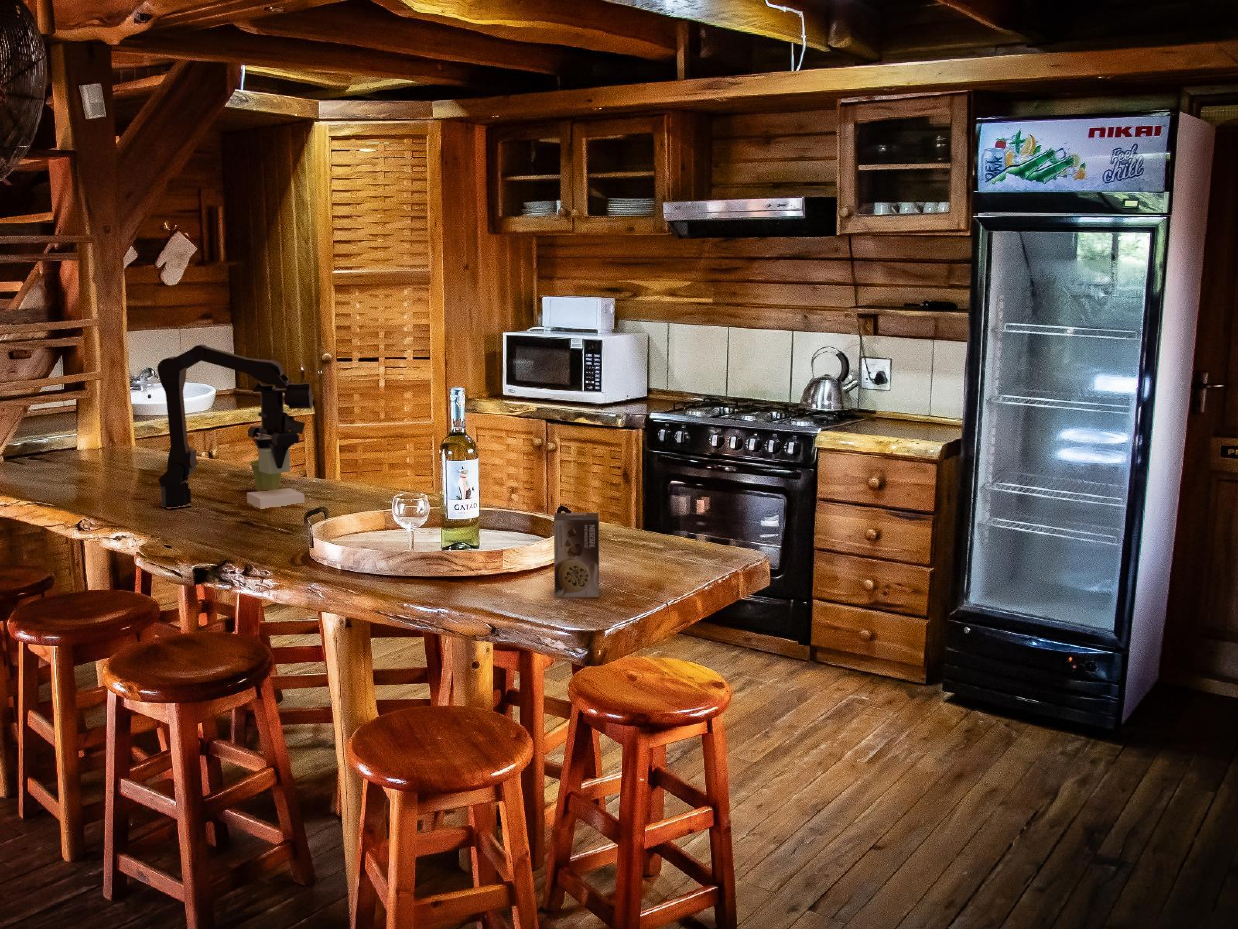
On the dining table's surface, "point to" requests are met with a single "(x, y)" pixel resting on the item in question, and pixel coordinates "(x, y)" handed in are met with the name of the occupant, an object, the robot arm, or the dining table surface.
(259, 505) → the plinth
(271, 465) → the sage cube
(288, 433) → the robot arm
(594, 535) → the coffee box
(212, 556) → the dining table surface
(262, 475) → the plant pot
